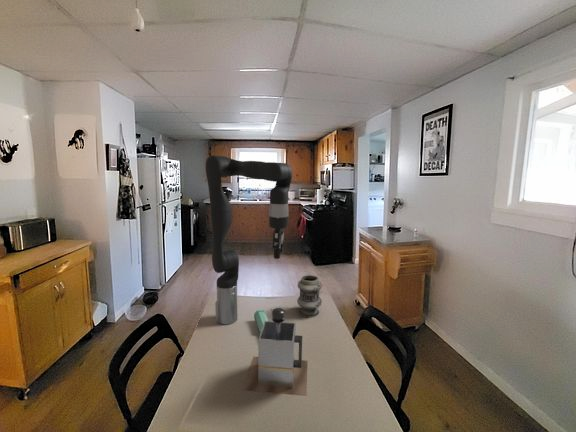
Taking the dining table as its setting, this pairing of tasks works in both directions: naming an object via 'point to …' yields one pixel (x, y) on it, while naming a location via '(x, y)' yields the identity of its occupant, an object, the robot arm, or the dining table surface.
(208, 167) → the robot arm
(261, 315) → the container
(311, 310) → the apothecary jar
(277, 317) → the plunger
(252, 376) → the walnut board
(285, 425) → the dining table surface
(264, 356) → the square mug
